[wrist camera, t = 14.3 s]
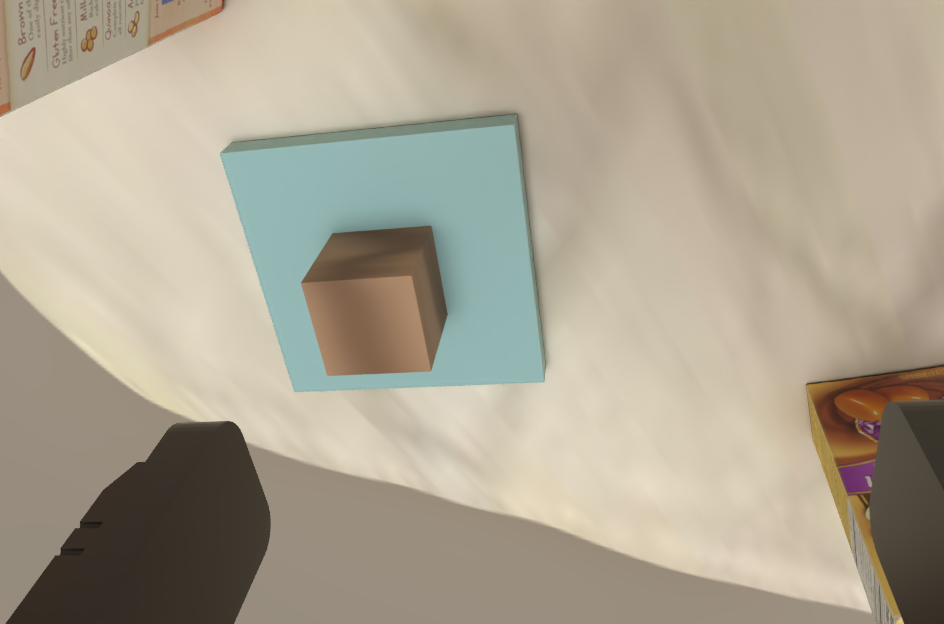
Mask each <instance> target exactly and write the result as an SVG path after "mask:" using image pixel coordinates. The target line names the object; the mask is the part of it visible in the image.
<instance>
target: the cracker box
mask: <svg viewBox="0 0 944 624" xmlns="http://www.w3.org/2000/svg"><path fill="white" fill-rule="evenodd" d="M222 6H223V0H0V117H1V116H3V115H5V114H8V113H10V112H12V111H14V110H16V109H18V108H20V107H22V106H24V105H26V104H28V103H31V102H33V101H35V100H37V99H39V98H41V97H43V96H45V95H47V94H49V93H51V92H53V91H55V90H57V89H60V88H62V87H64V86H66V85H68V84H70V83H72V82H75V81H77V80H79V79H81V78H83V77H85V76H87V75H90V74H92V73H94V72H96V71H98V70H100V69H102V68H104V67H106V66H108V65H111V64H113V63H115V62H117V61H119V60H121V59H123V58H126V57H128V56H130V55H132V54H134V53H136V52H138V51H140V50H142V49H145V48H147V47H149V46H151V45H153V44H155V43H157V42H160V41H162V40H164V39H166V38H168V37H170V36H172V35H174V34H176V33H179V32H181V31H183V30H185V29H187V28H189V27H191V26H193V25H195V24H197V23H199V22H201V21H204V20H206V19H208V18H210V17H211V16H214V15H216V14H218V13H220V12H221V11H222Z"/></svg>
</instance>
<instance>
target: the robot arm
mask: <svg viewBox="0 0 944 624" xmlns="http://www.w3.org/2000/svg"><path fill="white" fill-rule="evenodd" d="M869 511H870V525H871V532H872V537H873V542H874V546H875V549H876V553H877V555H878V558H879V561H880V563H881V566H882V568H883V571H884V573H885V576H886V579H887V581H888V584H889V586H890V589H891V591H892V594H893V597H894V599H895V602H896V604H897V607H898V609H899V612H900V614H901V617H902V620H903V622H904V624H944V400H913V401H890V402H888V403H887V404H886V406H885V408H884V411H883V414H882V420H881V427H880V433H879V440H878V447H877V454H876V460H875V467H874V474H873V481H872V487H871V494H870V506H869ZM270 526H271V525H270V511H269V506H268V503H267V500H266V497H265V495H264V492H263V489H262V486H261V484H260V481H259V478H258V475H257V473H256V470H255V467H254V464H253V462H252V459H251V456H250V454H249V451H248V448H247V445H246V443H245V440H244V437H243V435H242V432H241V430H240V429H239V427H238V426H237V425H236V424H235V423H233V422H231V421H219V422H189V423H176V424H174V425H172V426H171V427H170V428H169V429H168V430H167V432H166V433H165V435H164V436H163V437H162V439H161V440H160V442H159V443H158V445H157V446H156V447H155V449H154V450H153V452H152V453H151V454H150V456H149V458H148V459H147V460H146V462H138V463H136V464H135V465H134V466H132V467H131V468H130V469H129V470H127V471H126V472H125V473H124V474H123V475H121V476H120V477H119V478H118V479H116V480H115V481H114V482H113V483H111V484H110V485H109V486H108V487H106V488H105V489H104V490H103V491H102V492H101V494H100V495H99V497H98V498H97V500H96V501H95V502H94V504H93V505H92V506H91V508H90V509H89V510H88V512H87V513H86V514H85V516H84V517H83V518H82V520H81V521H80V528H76V529H75V530H74V531H73V532H72V534H71V535H70V536H69V538H68V539H67V540H66V542H65V543H64V544H63V546H62V547H61V554H60V555H59V556H55V557H54V558H53V560H52V561H51V562H50V564H49V565H48V566H47V568H46V569H45V570H44V572H43V573H42V575H41V576H40V577H39V579H38V580H37V581H36V583H35V584H34V586H33V587H32V588H31V590H30V591H29V592H28V594H27V595H26V596H25V598H24V599H23V601H22V602H21V603H20V605H19V606H18V607H17V609H16V610H15V611H14V613H13V614H12V616H11V617H10V618H9V620H8V621H7V622H6V624H234V622H235V620H236V618H237V616H238V613H239V611H240V609H241V606H242V604H243V602H244V600H245V598H246V595H247V593H248V591H249V589H250V586H251V584H252V582H253V579H254V577H255V575H256V573H257V570H258V568H259V566H260V564H261V562H262V560H263V557H264V555H265V552H266V550H267V546H268V542H269V537H270Z"/></svg>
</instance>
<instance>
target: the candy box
mask: <svg viewBox="0 0 944 624" xmlns="http://www.w3.org/2000/svg"><path fill="white" fill-rule="evenodd" d="M806 387H807V394H808V403H809V412H810V420H811V428H812V437H813V442H814V445H815V448H816V450H817V453H818V456H819V458H820V461H821V464H822V467H823V470H824V473H825V475H826V478H827V481H828V484H829V487H830V490H831V493H832V496H833V498H834V501H835V504H836V507H837V510H838V513H839V516H840V519H841V522H842V524H843V527H844V530H845V533H846V536H847V539H848V542H849V545H850V548H851V551H852V554H853V557H854V560H855V563H856V566H857V569H858V572H859V575H860V578H861V580H862V583H863V586H864V589H865V592H866V595H867V599H868V602H869V605H870V608H871V611H872V614H873V617H874V619H875V622H876V624H904V622H903V620H902V617H901V614H900V612H899V609H898V607H897V604H896V602H895V599H894V597H893V594H892V591H891V589H890V586H889V584H888V581H887V579H886V576H885V573H884V571H883V568H882V566H881V563H880V561H879V558H878V555H877V553H876V549H875V546H874V542H873V537H872V532H871V525H870V511H869V506H870V494H871V487H872V481H873V474H874V467H875V460H876V454H877V447H878V440H879V433H880V427H881V420H882V414H883V411H884V408H885V406H886V404H887V403H888V402H890V401H913V400H944V367H937V368H930V369H925V370H916V371H909V372H902V373H893V374H887V375H880V376H872V377H864V378H856V379H850V380H843V381H836V382H825V383H818V384H808V385H806Z"/></svg>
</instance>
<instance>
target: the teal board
mask: <svg viewBox="0 0 944 624" xmlns="http://www.w3.org/2000/svg"><path fill="white" fill-rule="evenodd" d="M220 156H221V159H222V162H223V166H224V169H225V172H226V175H227V178H228V182H229V185H230V188H231V191H232V194H233V197H234V201H235V204H236V207H237V210H238V213H239V217H240V220H241V223H242V226H243V229H244V233H245V236H246V239H247V242H248V245H249V249H250V252H251V255H252V258H253V261H254V265H255V268H256V271H257V274H258V277H259V281H260V284H261V287H262V290H263V293H264V297H265V300H266V303H267V306H268V309H269V313H270V316H271V319H272V322H273V325H274V329H275V332H276V335H277V338H278V341H279V345H280V348H281V351H282V354H283V357H284V361H285V364H286V367H287V370H288V373H289V377H290V380H291V383H292V386H293V389H294V392H310V391H336V390H361V389H386V388H411V387H436V386H462V385H487V384H512V383H537V382H544V380H545V368H546V364H545V356H544V347H543V338H542V330H541V321H540V312H539V303H538V295H537V286H536V277H535V268H534V260H533V251H532V242H531V234H530V225H529V216H528V207H527V199H526V190H525V181H524V172H523V164H522V155H521V146H520V138H519V129H518V120H517V114H512V115H502V116H492V117H483V118H473V119H463V120H453V121H443V122H433V123H423V124H413V125H403V126H393V127H383V128H373V129H363V130H354V131H344V132H334V133H324V134H314V135H304V136H294V137H284V138H274V139H264V140H254V141H244V142H234V143H231V144H230V145H229V146H228V147H227V148H225V149H224V150H223V151H222V152H221V153H220ZM420 226H432V231H433V237H434V242H435V248H436V253H437V259H438V264H439V270H440V275H441V281H442V286H443V291H444V297H445V302H446V308H447V313H448V315H447V319H446V322H445V326H444V329H443V333H442V336H441V339H440V343H439V346H438V350H437V353H436V357H435V360H434V363H433V367H432V370H431V372H410V373H387V374H364V375H341V376H327V373H326V370H325V366H324V363H323V359H322V356H321V352H320V349H319V345H318V342H317V338H316V335H315V331H314V328H313V324H312V321H311V317H310V314H309V310H308V307H307V303H306V300H305V296H304V293H303V289H302V286H301V282H302V280H303V279H304V277H305V276H306V274H307V272H308V271H309V269H310V268H311V266H312V264H313V263H314V261H315V260H316V258H317V256H318V255H319V253H320V252H321V250H322V249H323V247H324V245H325V244H326V242H327V241H328V239H329V237H330V236H331V234H332V233H342V232H355V231H368V230H381V229H394V228H407V227H420Z"/></svg>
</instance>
